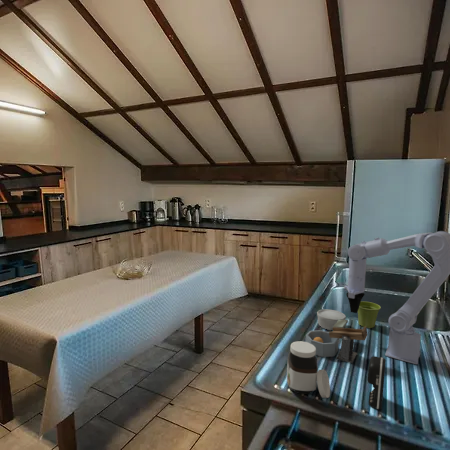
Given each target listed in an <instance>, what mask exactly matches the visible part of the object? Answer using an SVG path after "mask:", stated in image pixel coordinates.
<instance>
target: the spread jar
mask: <svg viewBox="0 0 450 450" xmlns="http://www.w3.org/2000/svg"><path fill="white" fill-rule="evenodd" d="M289 349H290V350H289V351H288V354H287V366H286V367H287V369H286V380H287V381H286V383H287V386H288V388H289V390H291V391H292V392H295V393H298V394H301V395H308V394H312V393H314V392H315V391H316V390H317V389H318V392H319V395H320V397H321V398H322V399H329V398H330V396H331V384H330V378H329V375H328V372H327V371H326V369H318V360H317V355H315V354H316V348H315V346H314V345H312V344H310V343H308V342H305V341H301V340H299V341H298V340H297V341H293V342H291V344H290V348H289Z"/></svg>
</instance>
